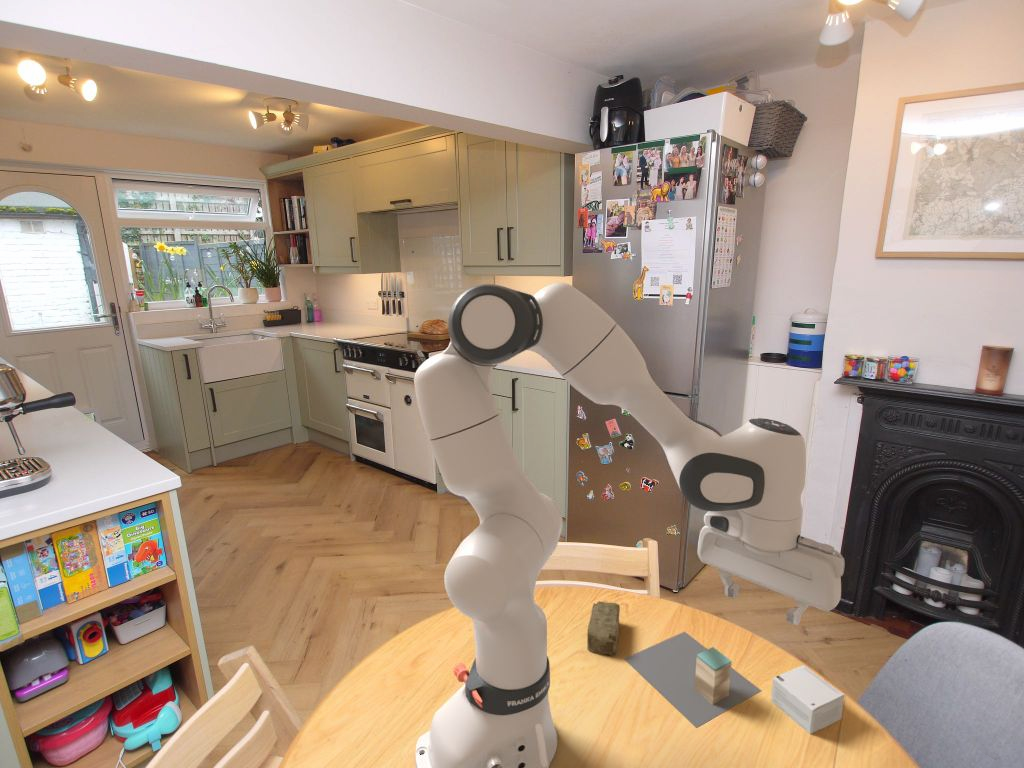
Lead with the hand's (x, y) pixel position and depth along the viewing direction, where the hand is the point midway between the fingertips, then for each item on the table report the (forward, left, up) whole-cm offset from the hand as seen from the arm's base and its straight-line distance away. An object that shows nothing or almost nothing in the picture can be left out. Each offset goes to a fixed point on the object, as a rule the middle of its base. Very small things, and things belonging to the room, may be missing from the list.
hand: (761, 608), depth 82 cm
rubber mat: (0, +13, -22) cm, 25 cm away
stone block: (-7, +29, -22) cm, 37 cm away
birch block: (0, +8, -21) cm, 23 cm away
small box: (+11, -2, -22) cm, 25 cm away
